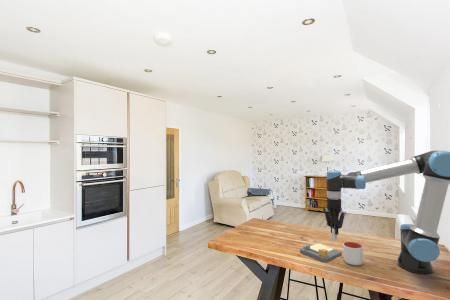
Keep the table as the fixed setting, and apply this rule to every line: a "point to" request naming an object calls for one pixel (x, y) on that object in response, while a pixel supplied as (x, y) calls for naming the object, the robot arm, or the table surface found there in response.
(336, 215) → the robot arm
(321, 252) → the toggle
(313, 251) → the gray square tray
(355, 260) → the cup
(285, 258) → the table surface
